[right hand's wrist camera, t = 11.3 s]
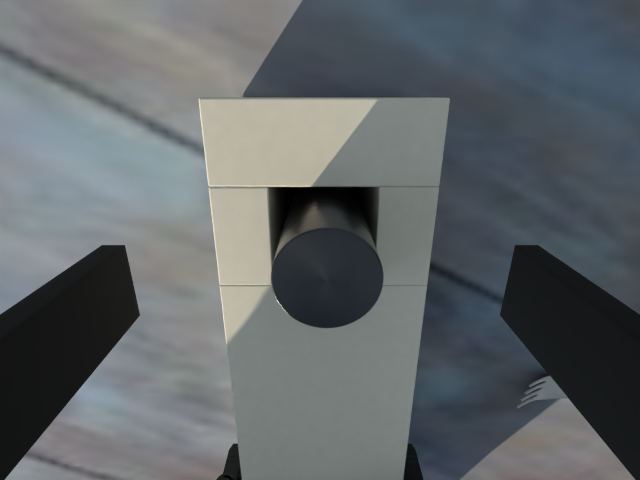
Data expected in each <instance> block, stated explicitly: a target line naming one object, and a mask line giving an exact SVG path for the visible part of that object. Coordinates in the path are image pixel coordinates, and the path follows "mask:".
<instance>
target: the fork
mask: <svg viewBox="0 0 640 480" xmlns="http://www.w3.org/2000/svg"><path fill="white" fill-rule="evenodd" d="M543 381H545V382H543ZM540 382H543V383H541V384H539V385H537V386H535V387H533V388H531V389H529V390H527V391H526V392H524V393H525V394H528V393H530V392H531V391H534V390H536V389H538V388H540V389H539V390H537V391H534V392H532V393H530V394H528V395H526V396H525V397H523V398H521V399H520V400H521V401H524V400H525V399H527V398H529V397H531V396H534V395H536V396H534V397H532V398H530V399H528V400H526V401H524V402H522V403H520V404H519V405H517V406H516V407H517V408H520V407H521V406H523V405H525V404H527V403H529V402H531V401H535V400H545V399H560V398H568V397H567V396H566V395H565V393H564V392H563V391H562V390H561V389H560V387H559V386H558V385H557V384H556V382H555V381H554V380H553V379H552V378H551V376H546V377H543V378H541V379H539V380H537V381H535V382H533V383H531V384H530V385H528V386H529V387H532V386H534V385H536V384H538V383H540Z"/></svg>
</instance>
